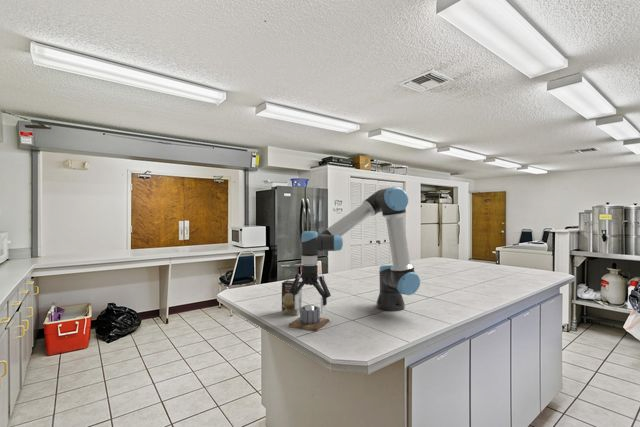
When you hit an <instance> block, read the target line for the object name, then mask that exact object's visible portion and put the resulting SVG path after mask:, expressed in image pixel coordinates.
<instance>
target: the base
mask: <svg viewBox="0 0 640 427" xmlns="http://www.w3.org/2000/svg"><path fill="white" fill-rule="evenodd" d="M328 323H330V318H327V317H326V318H325V317H320V322H319V323H317V324H314V325H306V324H302V323H300V316H299V317H297V318H296V319H294V320H293V321H291V322H290V323H288V327H289V328H295V329H302V330H307V331H313V332H318V331H319V330H321V329H322V328H323V327H324V326H326V325H327V324H328Z"/></svg>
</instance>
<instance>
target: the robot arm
mask: <svg viewBox="0 0 640 427" xmlns="http://www.w3.org/2000/svg"><path fill="white" fill-rule="evenodd" d="M408 205H409V196H408V194H407V192H406V190H404V189H403V188H401V187H398V186H397V187H396V186H395V187H393V186H392V187H387V188H383V189H379V190H377V191H375V192H373V193H372V194H371V195H370V196H369V197H367V198H365V199H364V200H363V201H362V203H361V205H359V206H357V207H356V208H355V209H353V210H352V211H350V212H349V213H347V214H346V215H344V216H343V217H342V218H340V219H339V220H338V221H336V222H335V223H333V224H331V225H330V226H329V227H327V228H326V229H325V230H323V231H322V232H317V231H316V230H315V231H313V230H310V231H309V230H305V231H302V233H301V240H300V242H301V244H300V245H301V260H300V262H301V265H300V266H301V271H300V272H301V273H296V274H295V276H294V280H293V281H294V282H293V285H292V287H291V289H290V291H289V292H290V293H292V294H293V301H294V302H295V309H298V308H299V294H298V292H299V291H300V289H301V288H302V289H303V287H304V286H306V285H307V286H308V285H309V286H313V287H314V288H315V289H316V290H317V292H318V293H319V295H320V296H321V298H320V314H323V313H325V311H326V306H327V302H328V301H327V300H328V298H330V297H331V293H330V290H329V288H328V286H327V283H326V281H325V275H318V266H319V265H318V252H338V251H341V250H342V249H343V245H344V244H343V241H344V240H343V238H342V237H343V236H344V235H346V234H347V233H349V231H351V230H353V229H354V228H355V227H357V226H358V225H359V224H361V223H362V222H364V221H365V220H366V219H368V218H369V217H371V216H372V217H373V216H376V215H377V214H378V213H379V214H380V213H381V215H382V217H384V218H385V221H386V228H387V234H388V240H389V248H390V255H391V262H392V264H384V265H380V266H379V271H378V273H379V294H378V296H377V299H376V308H378V309H380V310H382V311H383V310H385V311H391V312H393V311H394V312H395V311H402V310H404V309H405V307H406V306H405V300H404V297H403V295H406V296H411V295H414V294H415V293H416V292H417V291H418V290H419V289H420V286H421V278H420V277H419V275H418V274H417V272H415V266H414V265H413V264H412V263H411V261H410V255H409V247H408V241H407V235H406V234H407V233H406V226H405V219H404V216H405V215H406V213H407V212H406V208H407V206H408ZM300 279H301V281H300ZM298 282H301V283H300V285H299V286H298V287H297V288H296V286H297V284H298ZM295 288H296V290H295Z"/></svg>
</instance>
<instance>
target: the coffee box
mask: <svg viewBox="0 0 640 427" xmlns="http://www.w3.org/2000/svg"><path fill="white" fill-rule="evenodd" d="M293 282H294V280H288V279H287V280H284V281H283V282H281V314H283V315H290V316H298V315H300V308H301V307H303V305H302V304H303V303H302V301H303V300H302V298H303V292H302V291H303V287H302V288H301V289H300V291H299V292H298V294H299V308H298V309H295V302H294V301H293V294H292V293H290V292H289V291H290V289H291V287H292V285H293ZM301 282H302V281H299V282H298V284H297V286H296V288H297V287H298V286H299V285H300V283H301ZM296 288H295V290H296Z"/></svg>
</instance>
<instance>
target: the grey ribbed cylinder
mask: <svg viewBox="0 0 640 427" xmlns="http://www.w3.org/2000/svg"><path fill="white" fill-rule="evenodd" d="M305 306H306V305H302V307H301V308H300V314H299V317H300V323H302V324H306V325H314V324H317V323H319V322H320V318H321V307H319V306H318V305H314V310H310V311H308V310H305Z"/></svg>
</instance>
